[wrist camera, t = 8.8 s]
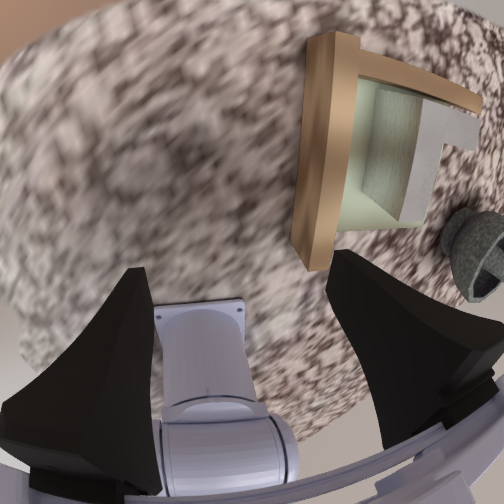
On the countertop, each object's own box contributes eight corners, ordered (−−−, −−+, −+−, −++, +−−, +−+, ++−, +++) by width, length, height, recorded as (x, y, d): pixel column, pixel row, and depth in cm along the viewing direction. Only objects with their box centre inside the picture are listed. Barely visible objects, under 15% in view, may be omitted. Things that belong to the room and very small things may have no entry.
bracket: (375, 88, 16) (423, 98, 12) (435, 105, 17) (481, 120, 13) (360, 191, 21) (398, 222, 17) (418, 192, 22) (456, 220, 18)
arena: (417, 231, 25) (442, 254, 22) (290, 240, 22) (308, 271, 19) (449, 80, 17) (483, 88, 13) (307, 38, 14) (335, 31, 11)
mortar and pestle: (415, 261, 27) (484, 340, 18) (454, 183, 23) (544, 249, 13) (463, 269, 31) (517, 329, 21) (494, 208, 26) (559, 262, 16)
